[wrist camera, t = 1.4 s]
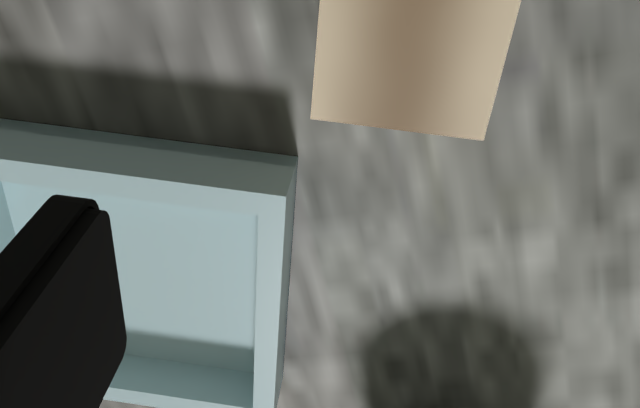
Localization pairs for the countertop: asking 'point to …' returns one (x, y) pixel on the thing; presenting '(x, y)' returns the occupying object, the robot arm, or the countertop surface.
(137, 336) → the teal tray
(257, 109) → the countertop surface
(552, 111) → the countertop surface
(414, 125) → the birch block
